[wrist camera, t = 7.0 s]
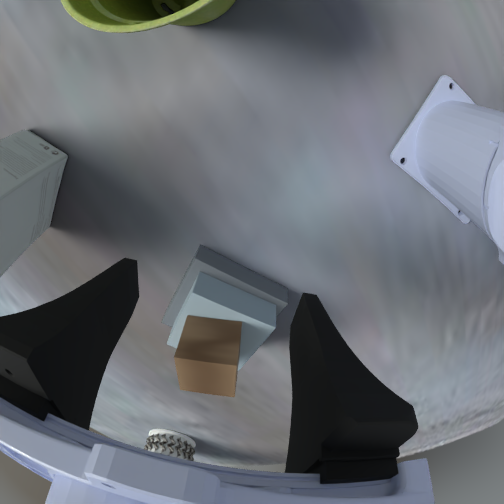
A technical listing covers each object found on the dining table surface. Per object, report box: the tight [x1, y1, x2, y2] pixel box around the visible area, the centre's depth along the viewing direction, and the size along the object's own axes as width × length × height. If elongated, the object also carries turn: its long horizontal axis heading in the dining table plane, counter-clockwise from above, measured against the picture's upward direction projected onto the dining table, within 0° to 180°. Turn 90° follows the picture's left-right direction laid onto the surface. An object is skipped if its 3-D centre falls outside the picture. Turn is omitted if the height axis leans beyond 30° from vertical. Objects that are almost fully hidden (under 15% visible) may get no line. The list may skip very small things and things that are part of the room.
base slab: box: [161, 245, 288, 327], centre depth 26 cm, size 8×8×2 cm
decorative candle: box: [144, 429, 196, 461], centre depth 34 cm, size 9×9×25 cm
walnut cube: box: [174, 315, 242, 397], centre depth 21 cm, size 4×4×4 cm
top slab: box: [167, 272, 276, 371], centre depth 24 cm, size 6×6×2 cm
